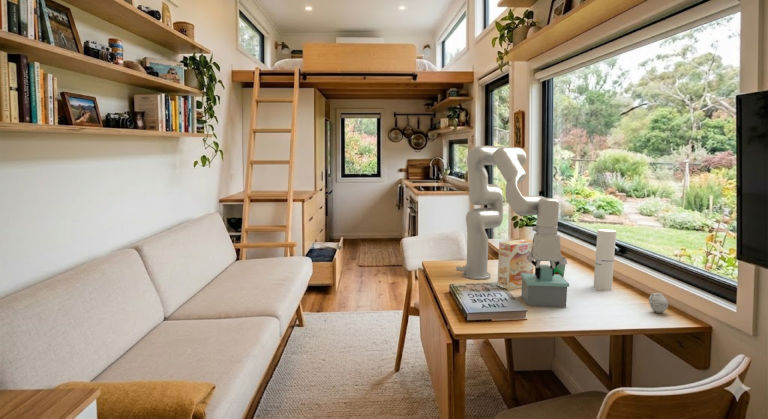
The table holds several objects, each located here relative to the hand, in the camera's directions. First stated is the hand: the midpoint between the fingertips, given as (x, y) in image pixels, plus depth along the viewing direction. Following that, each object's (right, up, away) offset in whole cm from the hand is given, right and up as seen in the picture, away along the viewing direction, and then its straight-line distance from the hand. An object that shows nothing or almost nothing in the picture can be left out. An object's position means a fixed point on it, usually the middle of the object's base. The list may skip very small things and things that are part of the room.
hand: (544, 277), depth 178 cm
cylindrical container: (+32, -8, +20) cm, 38 cm away
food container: (+18, -6, +33) cm, 38 cm away
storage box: (0, -10, +1) cm, 10 cm away
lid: (0, -3, 0) cm, 3 cm away
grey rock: (+38, -12, -9) cm, 41 cm away
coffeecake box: (-5, -7, +22) cm, 23 cm away
